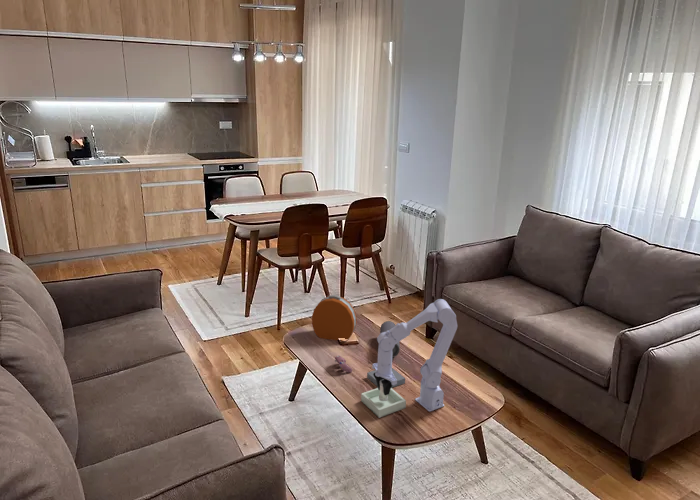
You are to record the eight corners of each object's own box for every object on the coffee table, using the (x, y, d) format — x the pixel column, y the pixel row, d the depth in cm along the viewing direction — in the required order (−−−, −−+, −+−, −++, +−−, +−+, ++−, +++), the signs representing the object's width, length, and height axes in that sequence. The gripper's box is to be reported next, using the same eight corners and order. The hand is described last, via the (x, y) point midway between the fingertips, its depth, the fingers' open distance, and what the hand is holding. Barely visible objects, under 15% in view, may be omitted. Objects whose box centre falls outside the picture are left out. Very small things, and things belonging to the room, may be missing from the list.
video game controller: (337, 366, 234) (331, 355, 231) (346, 361, 235) (339, 350, 232) (345, 377, 225) (338, 366, 222) (353, 371, 226) (347, 360, 223)
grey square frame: (405, 383, 218) (405, 378, 218) (382, 391, 213) (382, 385, 212) (389, 370, 228) (389, 365, 227) (367, 377, 222) (367, 372, 222)
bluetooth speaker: (400, 360, 237) (401, 341, 234) (380, 359, 237) (381, 340, 234) (397, 337, 259) (398, 320, 256) (379, 337, 259) (379, 319, 256)
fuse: (389, 399, 203) (390, 382, 200) (382, 402, 201) (383, 385, 198) (383, 395, 205) (384, 378, 203) (377, 398, 203) (377, 381, 201)
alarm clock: (357, 334, 262) (358, 294, 255) (352, 342, 253) (353, 301, 246) (317, 328, 267) (317, 289, 260) (311, 336, 258) (311, 296, 251)
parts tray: (405, 407, 201) (406, 400, 200) (378, 417, 195) (379, 410, 194) (387, 391, 212) (387, 384, 211) (361, 400, 206) (361, 393, 205)
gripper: (366, 356, 202) (365, 385, 206) (387, 373, 190) (385, 403, 194) (380, 352, 205) (379, 380, 209) (402, 368, 193) (400, 398, 197)
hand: (383, 391), depth 202 cm, fingers closed on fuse, 3 cm apart
